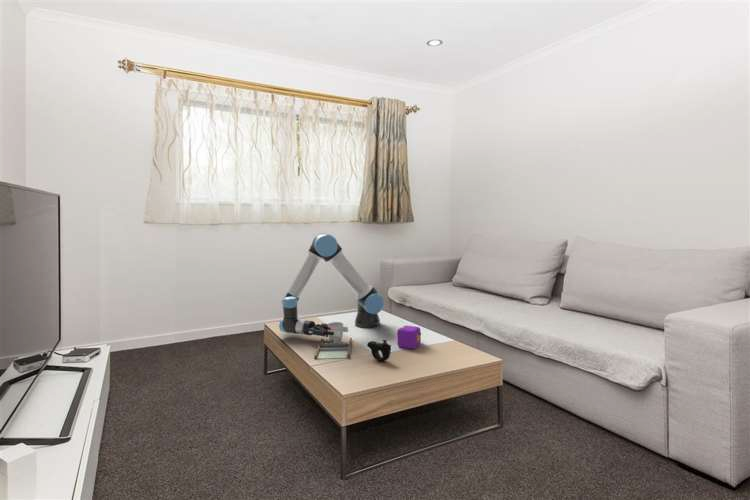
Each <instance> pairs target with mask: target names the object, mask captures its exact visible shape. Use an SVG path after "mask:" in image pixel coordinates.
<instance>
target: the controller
mask: <svg viewBox="0 0 750 500" xmlns="http://www.w3.org/2000/svg"><path fill="white" fill-rule="evenodd" d="M366 347H367V348H369V349H370V350H371V355H372V357H373V358H374V360H375V361H377V362H381V363H382V362H385V361H387V360H388V359H389V358H390V356H391V353H392V352H391V350H392V349H391V347H392V345H391V344H389V343H388V340H387V339H382V342H377V341H374V340H371V341H368V342H367V345H366ZM380 353H381V354H382V356H381V354H380Z"/></svg>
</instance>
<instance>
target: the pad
mask: <svg viewBox="0 0 750 500" xmlns="http://www.w3.org/2000/svg"><path fill="white" fill-rule="evenodd" d="M327 359H328V360H330V359H331V360H332V359H334V360H335V359H348V358H347V351H319V354H318V357H317V359H316V360H327Z"/></svg>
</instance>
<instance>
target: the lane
mask: <svg viewBox="0 0 750 500" xmlns="http://www.w3.org/2000/svg"><path fill="white" fill-rule="evenodd" d="M352 339H353V338H352V337H349V340H348V343H349V345H348V351H347V358H346V359H350V355H351V349H352V342H353V341H352ZM321 344H324V338H323V337H322V338H320V341H319V344H318V346H317V349H316V351H315V354H314V355H313V356H314V360H318V359H317V357H318V354H319V351H320V348H321Z"/></svg>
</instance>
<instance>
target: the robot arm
mask: <svg viewBox="0 0 750 500" xmlns="http://www.w3.org/2000/svg"><path fill="white" fill-rule="evenodd" d="M337 241H338V240H337V239H336V238H335V236H333V235H331V234H329V233H326V232H322V233H318V234H317V235H315V236H314V238H313V240H312V243H311V245H310V247H309V249H308V251H307V252H308V254H307V256H306V258H305V260H304V262H303V264H302V265H301V267H300V269H299V271H298V273H297V274H296V276H295V278H294V280H293V282H292V284H291V286H290V287H289V289H288V291H287V292H286V294H285V296H284V297H283V298H282V301H281V304H282V312H283V318H282V319H281V320H280V321H279V324H278V328H279V330H280V331H281V332H283V333H286V334H297V335H300V336H303V335H306V336H319V337H325V338H329V336H338V337H340V336H341V334H340V331H335V330H328V324H329V323H324V322H322V323H321V324H320V323H317V324H316V323H315V321H313V320H306V319H298V302H299V300H300V298H301V296H302V295H303V292H304V291H305V289H306V287H307V285H308V283H309V281H311V277H312V276H313V274H314V273H315V271H316V269H317V267H318V265H319V263H320V262H321V261H322V260H323V261H324V262H325V263H329V264H330V265H331V266H332V267H333V268H334V270H335V271H336V272H337V273H338V274H339V276H340V277H341V278H342V280H344V281H345V283H346V284H347V285H348V287H349V288H350V289H351V291H352V292H353V293H354V294H355V300H356V302H357V303H356V305H357V307H356V308H357V311H356V316H355V319H354V326H356V327H359V328H365V329H367V328H376V327H378V326H380V325H381V319H380V316H379V313H380V312H381V311H382V310H383V309H384V306H385V300H384V299H385V298H384V297H383V296H382V295H381V294H379V292H378V289H377V287H376V286H373V285H371V284H370V285H369V284H368V283H367V281H366V280H365V279H364V278H363V277H362V275H361V274H360V273H359V272H358V271H357V269H356V268H355V267H354V266H353V264H352V263H351V262H350V261H349V259H347V257H346V255H345V254H344V253H343V248H342V247H341V245H340V244H339V243H338V242H337ZM348 332H349V327H348V326H344V325H343V333H348Z"/></svg>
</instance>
